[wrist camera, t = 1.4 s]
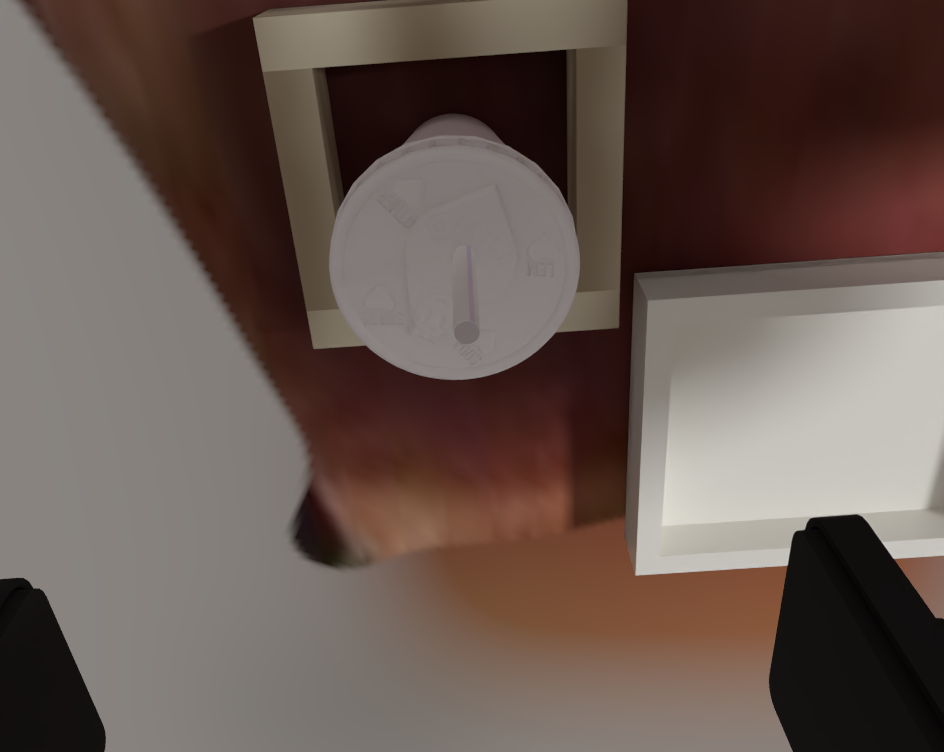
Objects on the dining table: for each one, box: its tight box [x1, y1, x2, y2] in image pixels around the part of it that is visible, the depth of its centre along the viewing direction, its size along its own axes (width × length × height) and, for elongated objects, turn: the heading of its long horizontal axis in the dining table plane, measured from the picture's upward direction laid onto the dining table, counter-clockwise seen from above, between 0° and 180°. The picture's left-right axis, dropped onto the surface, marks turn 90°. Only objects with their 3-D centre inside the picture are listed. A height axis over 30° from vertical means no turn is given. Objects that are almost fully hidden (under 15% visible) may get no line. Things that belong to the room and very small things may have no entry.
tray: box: [625, 252, 944, 575], centre depth 33 cm, size 16×13×2 cm
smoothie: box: [329, 114, 580, 380], centre depth 23 cm, size 6×6×14 cm
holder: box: [253, 0, 628, 349], centre depth 28 cm, size 11×11×2 cm
